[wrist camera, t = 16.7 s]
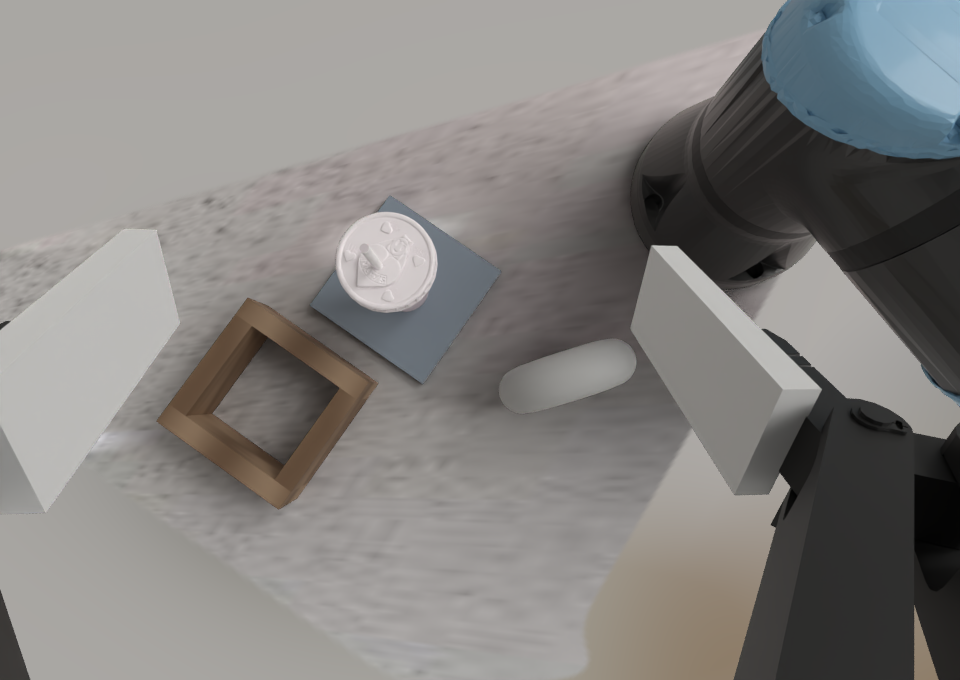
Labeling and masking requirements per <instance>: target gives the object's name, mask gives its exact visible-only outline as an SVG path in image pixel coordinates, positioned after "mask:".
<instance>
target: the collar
mask: <svg viewBox="0 0 960 680" xmlns="http://www.w3.org/2000/svg"><path fill="white" fill-rule="evenodd" d="M267 338H270V339H271V340H273V341H274V342H276V343H277V344H278V345H280V346H281V347H283V348H284V349H285V350H287V351H288V352H290V353H291V354H293V355H294V356H295V357H297V358H298V359H300V360H301V361H303V362H304V363H305V364H307V365H308V366H310V367H311V368H312V369H314V370H315V371H317V372H318V373H320V374H321V375H322V376H324V377H325V378H327V379H328V380H330V381H331V382H332V383H334V384H335V385H337V386H338V387H339V390H338V391H337V393H336V394H335V395H334V397H333V398H332V400H331V401H330V402H329V404H328V405H327V407H326V408H325V410H324V411H323V412H322V414H321V415H320V417H319V418H318V419H317V421H316V422H315V424H314V425H313V426H312V428H311V429H310V431H309V432H308V433H307V435H306V436H305V438H304V439H303V440H302V442H301V443H300V445H299V446H298V447H297V449H296V450H295V452H294V453H293V454H292V456H291V457H290V459H289V460H288V461H287V463H286V464H285V466H284V465H283V464H282V463H280V462H279V461H277V460H276V459H275V458H273V457H272V456H270V455H269V454H268V453H266V452H265V451H263V450H262V449H261V448H259V447H258V446H257V445H255V444H254V443H252V442H251V441H250V440H248V439H247V438H245V437H244V436H243V435H241V434H240V433H238V432H237V431H236V430H234V429H233V428H231V427H230V426H229V425H227V424H226V423H224V422H223V421H222V420H220V419H219V418H217V417H216V416H215V415H213V414H212V413H213V412H214V410H215V409H216V408H217V406H218V405H219V403H220V402H221V401H222V399H223V398H224V397H225V395H226V394H227V392H228V391H229V390H230V388H231V387H232V386H233V384H234V383H235V382H236V380H237V379H238V377H239V376H240V375H241V373H242V372H243V371H244V369H245V368H246V367H247V365H248V364H249V362H250V361H251V360H252V358H253V357H254V356H255V354H256V353H257V351H258V350H259V349H260V347H261V346H262V345H263V343H264V342H265V341H266V339H267ZM377 385H378V383H377V382H376V381H375V380H373V379H372V378H370V377H369V376H367V375H366V374H365V373H363V372H362V371H360V370H359V369H357V368H356V367H355V366H353V365H352V364H350V363H349V362H347V361H346V360H345V359H343V358H342V357H340V356H339V355H337V354H336V353H335V352H333V351H332V350H330V349H329V348H327V347H326V346H325V345H323V344H322V343H320V342H319V341H317V340H316V339H315V338H313V337H312V336H310V335H309V334H307V333H306V332H305V331H303V330H302V329H300V328H299V327H297V326H296V325H295V324H293V323H292V322H290V321H289V320H287V319H286V318H285V317H283V316H282V315H280V314H279V313H278V312H276V311H275V310H273V309H272V308H270V307H269V306H267V305H264V304H262V303H260V302H257V301H255V300H252V299H250V298H247V299H246V301H245V302H244V303H243V305H242V306H241V308H240V309H239V310H238V312H237V313H236V314H235V316H234V317H233V318H232V320H231V321H230V322H229V324H228V325H227V326H226V328H225V329H224V330H223V332H222V333H221V335H220V336H219V337H218V339H217V340H216V341H215V343H214V344H213V345H212V347H211V348H210V349H209V351H208V352H207V353H206V355H205V356H204V358H203V359H202V360H201V362H200V363H199V364H198V366H197V367H196V368H195V370H194V371H193V372H192V374H191V375H190V376H189V378H188V379H187V380H186V382H185V383H184V385H183V386H182V387H181V389H180V390H179V391H178V393H177V394H176V395H175V397H174V398H173V399H172V401H171V402H170V403H169V405H168V406H167V408H166V409H165V410H164V412H163V413H162V414H161V416H160V417H159V418H158V420H157V422H158V423H159V424H161V425H162V426H163V427H165V428H166V429H168V430H169V431H170V432H172V433H173V434H175V435H176V436H177V437H179V438H180V439H182V440H183V441H184V442H186V443H187V444H188V445H190V446H191V447H193V448H194V449H195V450H197V451H198V452H200V453H201V454H202V455H204V456H205V457H206V458H208V459H209V460H211V461H212V462H213V463H215V464H216V465H218V466H219V467H220V468H222V469H223V470H224V471H226V472H227V473H229V474H230V475H231V476H233V477H234V478H236V479H237V480H238V481H240V482H241V483H242V484H244V485H245V486H247V487H248V488H249V489H251V490H252V491H254V492H255V493H256V494H258V495H259V496H260V497H262V498H263V499H265V500H266V501H267V502H269V503H270V504H272V505H273V506H274V507H276V508H277V509H278V510H279V509H281V508H282V507H284V506H286V505H287V504H289V503H291V502H292V501H294V500H296V499H297V498H298V496H299V495H300V494H301V492H302V491H303V489H304V488H305V487H306V485H307V484H308V482H309V481H310V480H311V478H312V477H313V475H314V474H315V472H316V471H317V470H318V468H319V467H320V465H321V464H322V463H323V461H324V460H325V458H326V457H327V455H328V454H329V453H330V451H331V450H332V448H333V447H334V446H335V444H336V443H337V441H338V440H339V438H340V437H341V436H342V434H343V433H344V431H345V430H346V429H347V427H348V426H349V424H350V423H351V421H352V420H353V419H354V417H355V416H356V414H357V413H358V412H359V410H360V409H361V407H362V406H363V405H364V403H365V402H366V400H367V399H368V397H369V396H370V395H371V393H372V392H373V390H374V389H375V388H376V386H377Z"/></svg>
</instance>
